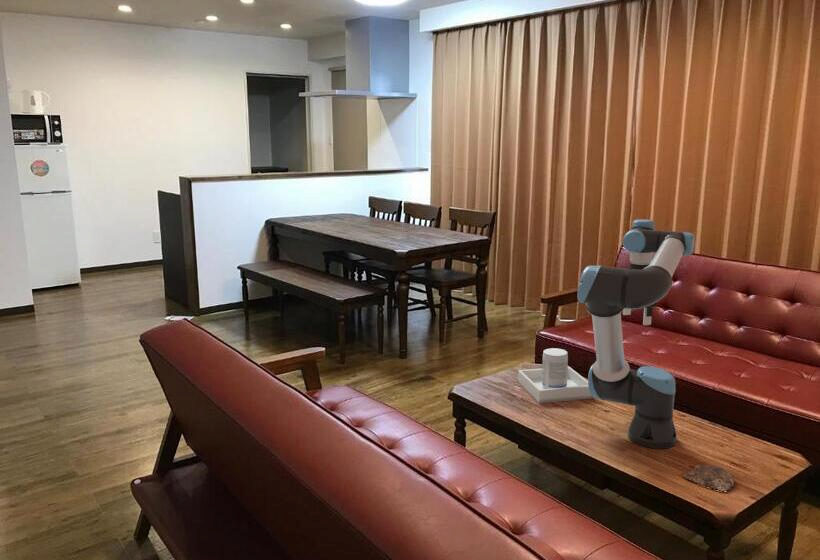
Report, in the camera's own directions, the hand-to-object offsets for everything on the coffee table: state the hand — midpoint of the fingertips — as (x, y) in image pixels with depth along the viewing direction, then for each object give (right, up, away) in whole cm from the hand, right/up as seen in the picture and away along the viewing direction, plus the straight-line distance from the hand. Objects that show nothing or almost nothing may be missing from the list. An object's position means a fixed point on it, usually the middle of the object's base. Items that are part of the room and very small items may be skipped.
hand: (636, 319), depth 240 cm
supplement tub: (-26, -28, +17) cm, 42 cm away
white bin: (-26, -29, +17) cm, 43 cm away
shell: (+5, -44, -49) cm, 66 cm away
